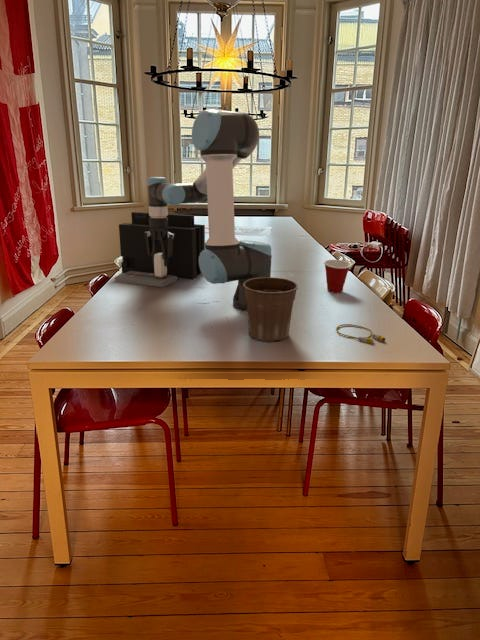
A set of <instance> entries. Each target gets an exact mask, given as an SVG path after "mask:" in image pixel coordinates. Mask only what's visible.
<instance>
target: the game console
mask: <svg viewBox="0 0 480 640" xmlns="http://www.w3.org/2000/svg"><path fill="white" fill-rule="evenodd" d="M130 215H131V223H129V222H128V223H127V222H123V223H119V224H118V231H119V232H118V234H119V235H118V236H119V248H120V250H119V251H120V257H121V258H122V262H121V274H124V273H126V272H129V271H137V272H145V273H154V265H153V264H152V257H151V256H148V253H147V245H146V238H145V236H144V232H148V231H149V229H150V225H149V218H150V217H151V216H149V211H132V212H131V214H130ZM166 217H167V218H168V230H169V232H170V233H172V234H175V236H174V239H173V256H172V257H170V258H168V266H167V275H172V276H177V279H179V278H182V279H181V280H189V279H190V281H193V280H196V279H197V277H198V275H199V276H201V275H202V273H201V270H200V267H199V256H200V253H201V252H202V251H203V250H205V243H206V227H205V226H206V225H205V224H197V223H196V224H195V214H186V213H185V214H181V213H168V216H166ZM152 239H153V237H152V235H151V240H152ZM166 240H167V241H166V243H167V249H168V235H167V237H166ZM152 246H153V241H152ZM159 252H161V253H163V252H162V247H161V243H160V240H159V241H158V250H157V253H159ZM154 274H155V273H154Z"/></svg>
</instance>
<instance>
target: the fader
mask: <svg viewBox="0 0 480 640" xmlns="http://www.w3.org/2000/svg"><path fill="white" fill-rule="evenodd" d="M162 259H163V253H161V252H159V253H156V254H154V262H155V276H154V278H158V279H162V278H164V277H166V276H167V273H166V274H162Z"/></svg>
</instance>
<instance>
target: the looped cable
mask: <svg viewBox="0 0 480 640" xmlns="http://www.w3.org/2000/svg"><path fill="white" fill-rule="evenodd" d="M339 326H347V327H352V326H358V327H357V328H359V327H361V329H362V328H364V330H365V329H367V330H366V331H368V330H369V332H370V331H371V332H370V335H369V336H367V337H366V336H359V337H357V336H353V335H349V334H348V335H347V334H343V333H341V332H340V331H339ZM337 329H338V330H337ZM335 330H336V331H337V332H336V333H338V334H339V335H338V334H337V335H338V336H339V337H342V336H343V338H346V337H347V339H353V338H357V340H358V341H359V340H360V342H363V343H365V342H366V344H369V343H370V344H369V345H372V344H373V343H374V339H375V341H378V342H381V343H383V341H386V338H385V336H382V335H381V334H377V333H373V331H372V329H369V328H367V327H365V326H361V325H358V324H353V323H352V324H351V323H345V324H340V325H337V327H336V329H335ZM371 337H372V338H371ZM373 338H374V339H373Z"/></svg>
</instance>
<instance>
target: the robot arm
mask: <svg viewBox="0 0 480 640" xmlns="http://www.w3.org/2000/svg"><path fill="white" fill-rule="evenodd" d="M191 140H192V143H193V146H194V148H195V149H196V150H198V151H199V153H200V158H201V159H202V160H203V161H204V163H205V168H204V170H203V171H202V172H201V173H200V175H199V176H198V177H197V179H195V181H194V182H192V183H191V182H189V183H188V182H184V183H168V180H167V178H166V177H163V176H151V177H150V176H149V177H148V178H147V186H146V188H147V201H148V212H149V216H151V217H150V218H149V225H150V229H149V231H148V232H144V236H145V238H146V245H147V253H148V256H151V257H152V264H153V265H154V273H155V262H154V254H156V253H157V250H158V241H159V240H160V243H161V247H162V252H163V259H162V274H166V273H167V266H168V258H170V257H172V256H173V239H174V236H175V234H172V233H170V232H169V230H168V218H167V217H166V216H168V214H169V211H168V205H169V206H170V205H171V206H179V205H180V204H181V205H182V204H196V203H197V204H204V203H207V216H208V217H207V218H208V220H207V221H208V239H207V240H205V250H203V251H202V252H201V253H200V256H199V267H200V270H201V273H202V274H201V275H202V276H203V277H204V279H205V280H206V281H207V282H209V283H210V284H214V285H218V284H226V283H230V282H237V285H236V289H235V291H234V294H233V298H232V305H233V306H234V307H235V308H237V309H241V310H245V311H248V310H247V299H246V296H245V288H244V286H243V283H244V282H245V281H247V280H249V279H253V278H260V277H271V275H272V274H271V272H272V270H271V269H272V257H273V255H272V246H271V245H270V244H269V243H266V242H264V241H263V242H262V241H256V240H247V239H246V240H245V239H243V240H242V239H241V240H238V239H237V238H236V235H235V233H236V232H235V231H236V229H235V227H236V226H235V204H234V203H235V202H234V200H235V199H234V196H235V195H234V174H233V173H234V168H235V167H236V166H237V165H238V164H240V162H241V161H242V160H246V159H247V158H249V157H250V156H251V154H252V153H253V152H254V151H255V149H256V148H257V146H258V142H259V140H260V128H259V126H258V124H257V121H256V120H255V118H253V116H251V115H250V114H248V113H246V112H242V111H232V110H231V111H230V110H224V109H204V110H202V111H200V112H199V113H198V114H197V115H196V118H195V119H194V121H193V124H192V129H191ZM151 235H152V237H153V239H152V240H151ZM167 235H168V249H167V243H166V241H167V240H166V237H167ZM152 241H153V246H152Z"/></svg>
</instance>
